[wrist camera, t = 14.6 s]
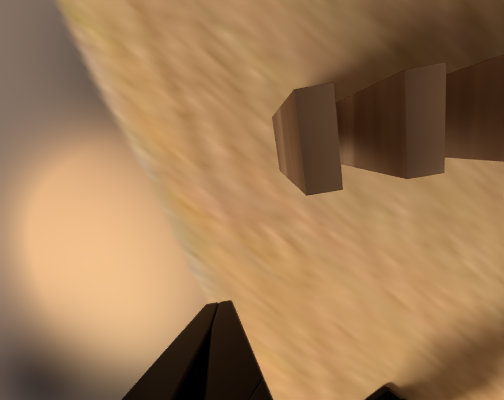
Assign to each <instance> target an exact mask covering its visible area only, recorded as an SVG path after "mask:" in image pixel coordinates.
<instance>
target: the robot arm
mask: <svg viewBox="0 0 504 400" xmlns="http://www.w3.org/2000/svg"><path fill="white" fill-rule="evenodd" d="M122 400H273V398H272V396H271V393H270V391H269V389H268V386H267V384H266V382H265V380H264V377H263V374H262V372H261V370H260V367H259V365H258V362H257V360H256V358H255V355H254V353H253V350H252V348H251V346H250V343H249V341H248V338H247V336H246V333H245V331H244V329H243V326H242V324H241V321H240V319H239V317H238V314H237V312H236V309H235V307H234V305H233V302H232V301H231V300H229V301H223V302H220V303H218V302H216V303H210V304H206V305H205V306H204V308H202V310H201V311H200V312H199V313H198V314H197V315H196V316H195V317H194V319H193V320H192V321H191V322H190V323H189V324H188V325H187V327H186V328H185V329H184V330H183V331H182V332H181V333H180V334H179V335H178V337H177V338H176V339H175V340H174V341H173V342H172V343H171V345H170V346H169V347H168V348H167V349H166V350H165V351H164V352H163V353H162V355H161V356H160V357H159V358H158V359H157V360H156V361H155V362H154V364H153V365H152V366H151V367H150V368H149V369H148V370H147V372H146V373H145V374H144V375H143V376H142V377H141V378H140V379H139V381H138V382H137V383H136V384H135V385H134V386H133V387H132V388H131V389H130V391H129V392H128V393H127V394H126V395H125V396H124V397H123V398H122ZM368 400H406V399H404V398H401V397H400V396H398V395H397V394H396V393H395V392H393V391H392V390H391V389H390V388H388V387H384V388H382V389H381V390H380V391H378V392H377V393H376V394H374V395H373V396H372V397H370V398H369V399H368Z"/></svg>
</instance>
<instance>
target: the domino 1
mask: <svg viewBox="0 0 504 400" xmlns="http://www.w3.org/2000/svg"><path fill="white" fill-rule="evenodd" d="M272 119H273V127H274V134H275V141H276V148H277V155H278V162H279V169H280V171H281V172H282V173H283V174H284V175H285V176H286V177H287V178H288V179H289V180H290V181H291V182H293V183H294V184H295V185H296V186H297V187H298V188H299V189H300V190H301V191H302V192H303V193H304V194H305V195H313V194H319V193H325V192H331V191H337V190H343V186H342V174H341V162H340V150H339V138H338V126H337V113H336V101H335V89H334V82H333V83H327V84H322V85H316V86H311V87H305V88H300V89H294V90H293V91H292V93H291V94H290V95H289V96H288V98H287V99H286V100H285V101H284V103H283V104H282V105H281V107H280V108H279V109H278V110H277V112H276V113H275V114H274V115H273V117H272Z"/></svg>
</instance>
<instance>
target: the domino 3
mask: <svg viewBox="0 0 504 400" xmlns="http://www.w3.org/2000/svg"><path fill="white" fill-rule="evenodd" d="M445 157H448V158H462V159H476V160H490V161H504V55H501V56H498V57H495V58H492V59H490V60H487V61H484V62H481V63H478V64H475V65H473V66H470V67H467V68H464V69H461V70H458V71H456V72H453V73H450V74H447V75H446V109H445Z"/></svg>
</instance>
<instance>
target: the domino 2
mask: <svg viewBox="0 0 504 400" xmlns="http://www.w3.org/2000/svg"><path fill="white" fill-rule="evenodd" d="M445 109H446V62H444V63H438V64H433V65H427V66H422V67H416V68H411V69H405V70H403V71H401V72H399V73H397V74H395V75H393V76H391V77H388V78H386V79H384V80H382V81H380V82H378V83H376V84H374V85H372V86H370V87H368V88H366V89H364V90H361V91H359V92H357V93H355V94H353V95H351V96H349V97H347V98H345V99H343V100H341V101H339V102H337V103H336V113H337V126H338V138H339V150H340V162H341V164H343V165H347V166H352V167H356V168H360V169H365V170H369V171H374V172H378V173H382V174H387V175H391V176H396V177H400V178H405V179H411V178H417V177H423V176H429V175H435V174H441V173H444V161H445Z"/></svg>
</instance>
